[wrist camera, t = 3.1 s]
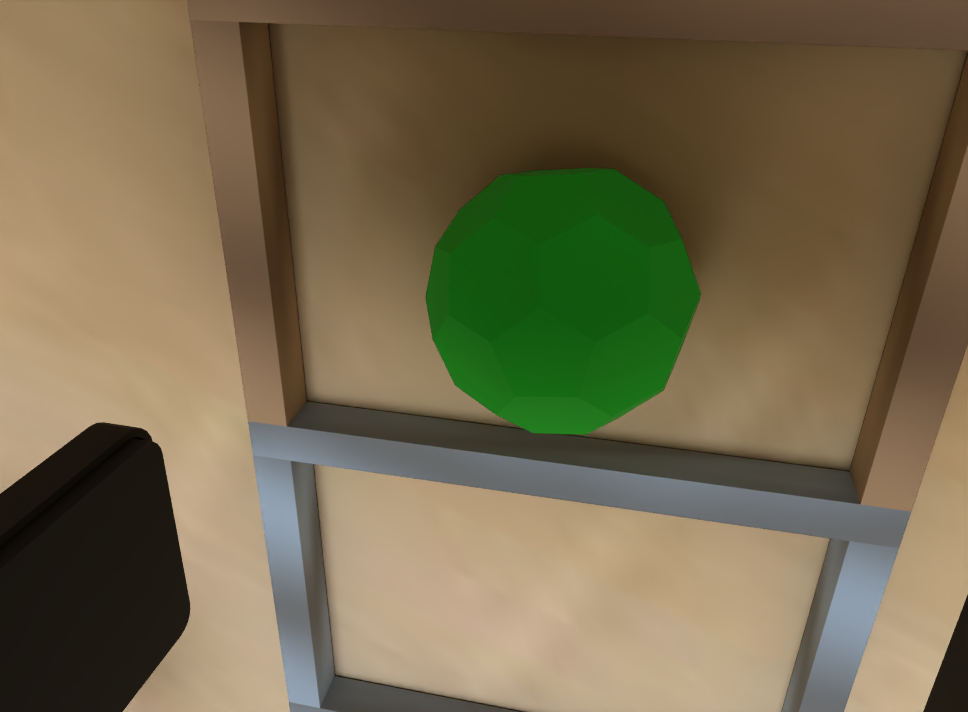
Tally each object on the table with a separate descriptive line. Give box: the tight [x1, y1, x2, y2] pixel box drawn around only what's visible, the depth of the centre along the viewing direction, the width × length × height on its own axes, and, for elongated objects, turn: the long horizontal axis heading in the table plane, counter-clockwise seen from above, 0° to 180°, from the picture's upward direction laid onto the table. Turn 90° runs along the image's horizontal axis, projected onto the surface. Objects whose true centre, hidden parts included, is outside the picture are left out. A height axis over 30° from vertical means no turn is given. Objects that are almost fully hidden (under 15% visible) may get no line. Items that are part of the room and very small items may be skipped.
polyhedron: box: [426, 168, 701, 435], centre depth 15 cm, size 5×5×5 cm
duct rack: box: [187, 0, 968, 712], centre depth 19 cm, size 21×15×1 cm
